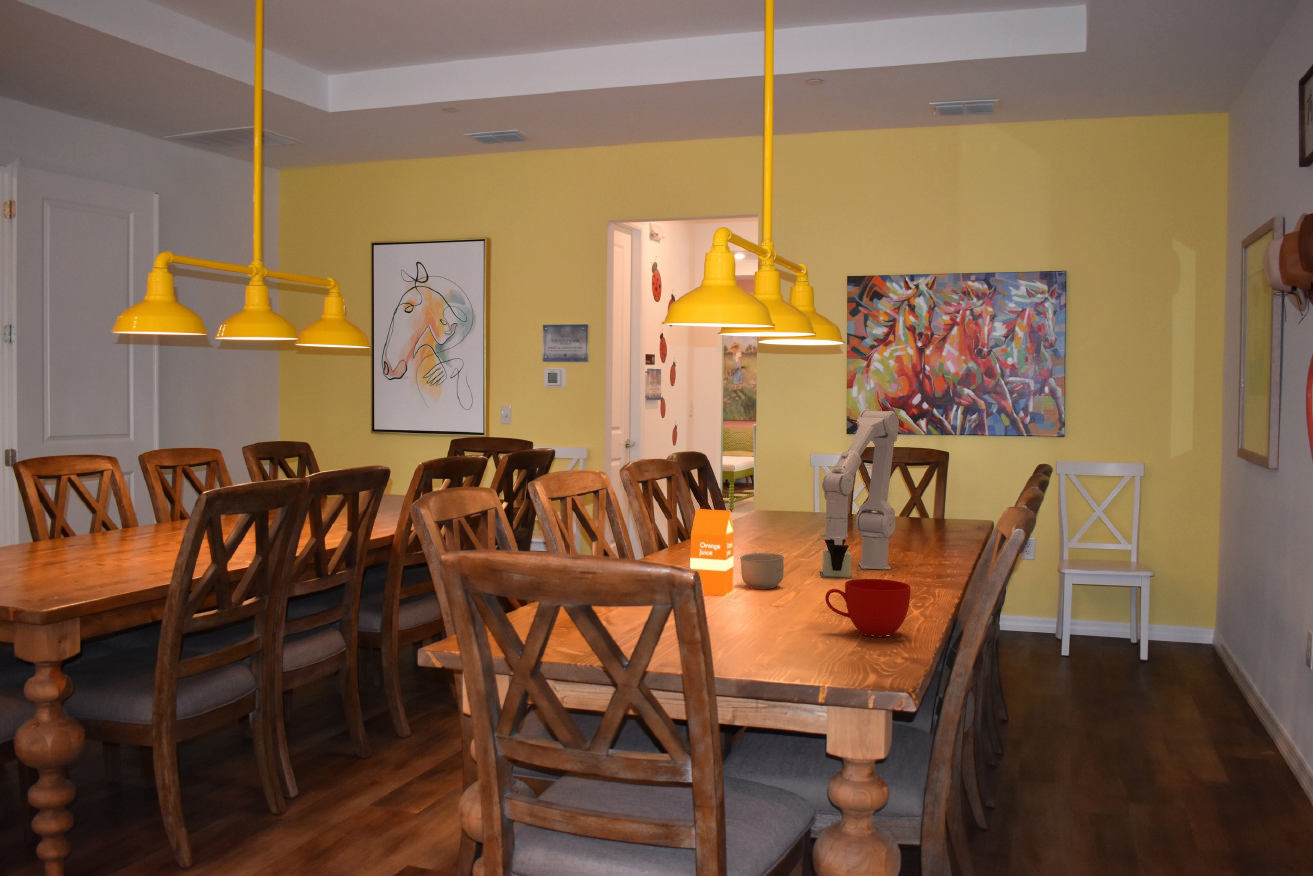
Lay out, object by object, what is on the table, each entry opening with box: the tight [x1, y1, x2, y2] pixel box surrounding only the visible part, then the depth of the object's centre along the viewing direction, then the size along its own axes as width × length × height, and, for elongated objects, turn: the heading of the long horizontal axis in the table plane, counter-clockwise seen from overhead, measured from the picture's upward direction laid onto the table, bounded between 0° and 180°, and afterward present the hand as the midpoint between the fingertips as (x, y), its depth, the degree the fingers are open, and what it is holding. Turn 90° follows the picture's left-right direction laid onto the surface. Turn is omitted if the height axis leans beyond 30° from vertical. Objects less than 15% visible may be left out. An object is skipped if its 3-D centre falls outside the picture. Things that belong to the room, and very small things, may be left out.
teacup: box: [739, 552, 785, 590], centre depth 259 cm, size 14×11×8 cm
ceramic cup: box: [824, 578, 912, 636], centre depth 208 cm, size 13×17×10 cm
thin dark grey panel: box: [819, 571, 853, 579], centre depth 276 cm, size 8×8×1 cm
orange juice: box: [689, 508, 735, 597], centre depth 250 cm, size 8×9×20 cm
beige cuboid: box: [821, 549, 852, 577], centre depth 276 cm, size 7×6×6 cm
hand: (835, 568), depth 276 cm, fingers open, 7 cm apart
